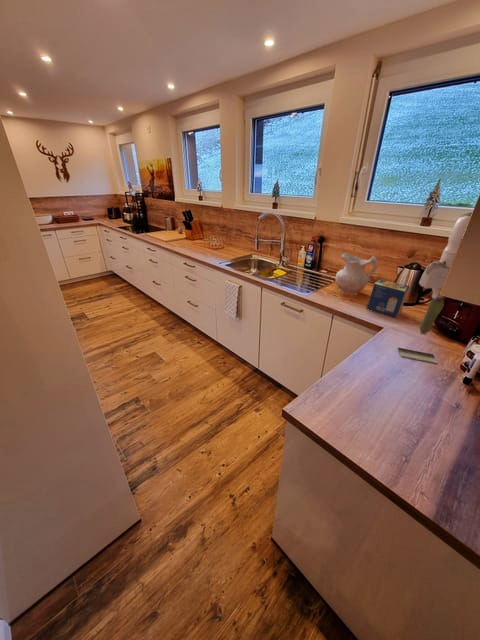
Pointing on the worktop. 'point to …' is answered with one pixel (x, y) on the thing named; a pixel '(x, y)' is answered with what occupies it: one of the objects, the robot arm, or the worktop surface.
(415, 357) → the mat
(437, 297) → the robot arm
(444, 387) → the worktop surface
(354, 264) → the ceramic pitcher
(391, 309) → the protein box
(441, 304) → the vegetable
